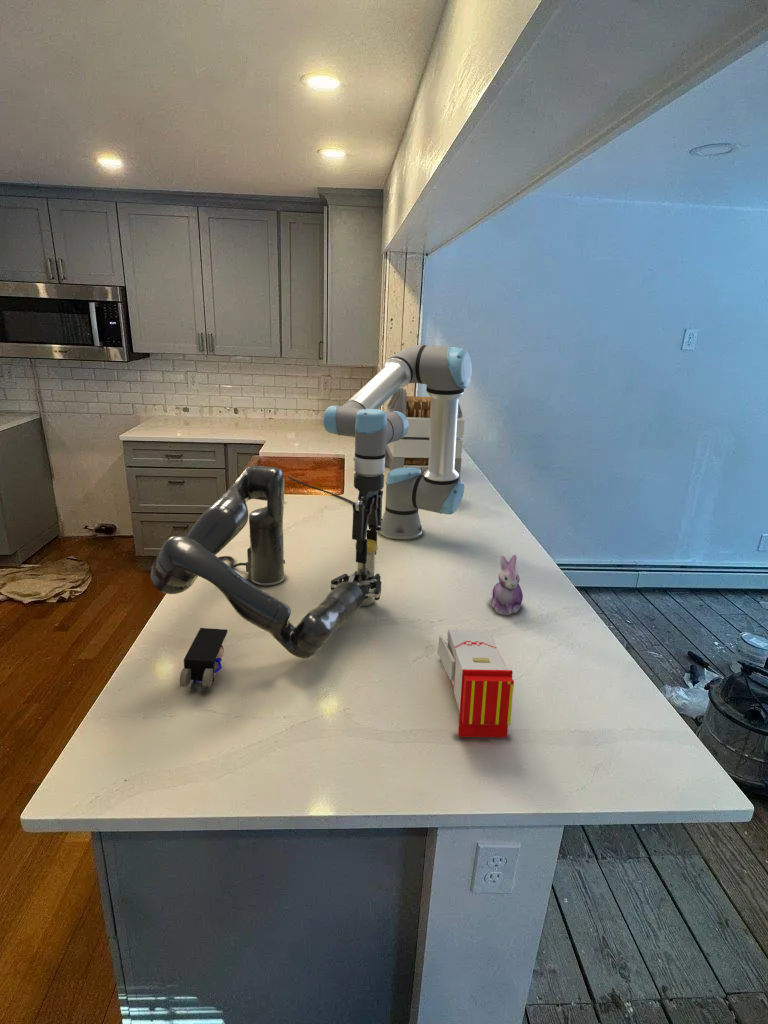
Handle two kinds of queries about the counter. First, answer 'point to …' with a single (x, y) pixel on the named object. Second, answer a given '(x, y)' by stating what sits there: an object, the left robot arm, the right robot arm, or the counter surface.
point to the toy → (478, 682)
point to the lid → (371, 546)
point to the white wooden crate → (416, 433)
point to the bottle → (366, 574)
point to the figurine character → (203, 658)
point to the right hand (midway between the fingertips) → (366, 557)
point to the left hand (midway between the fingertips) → (369, 575)
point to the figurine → (507, 588)
